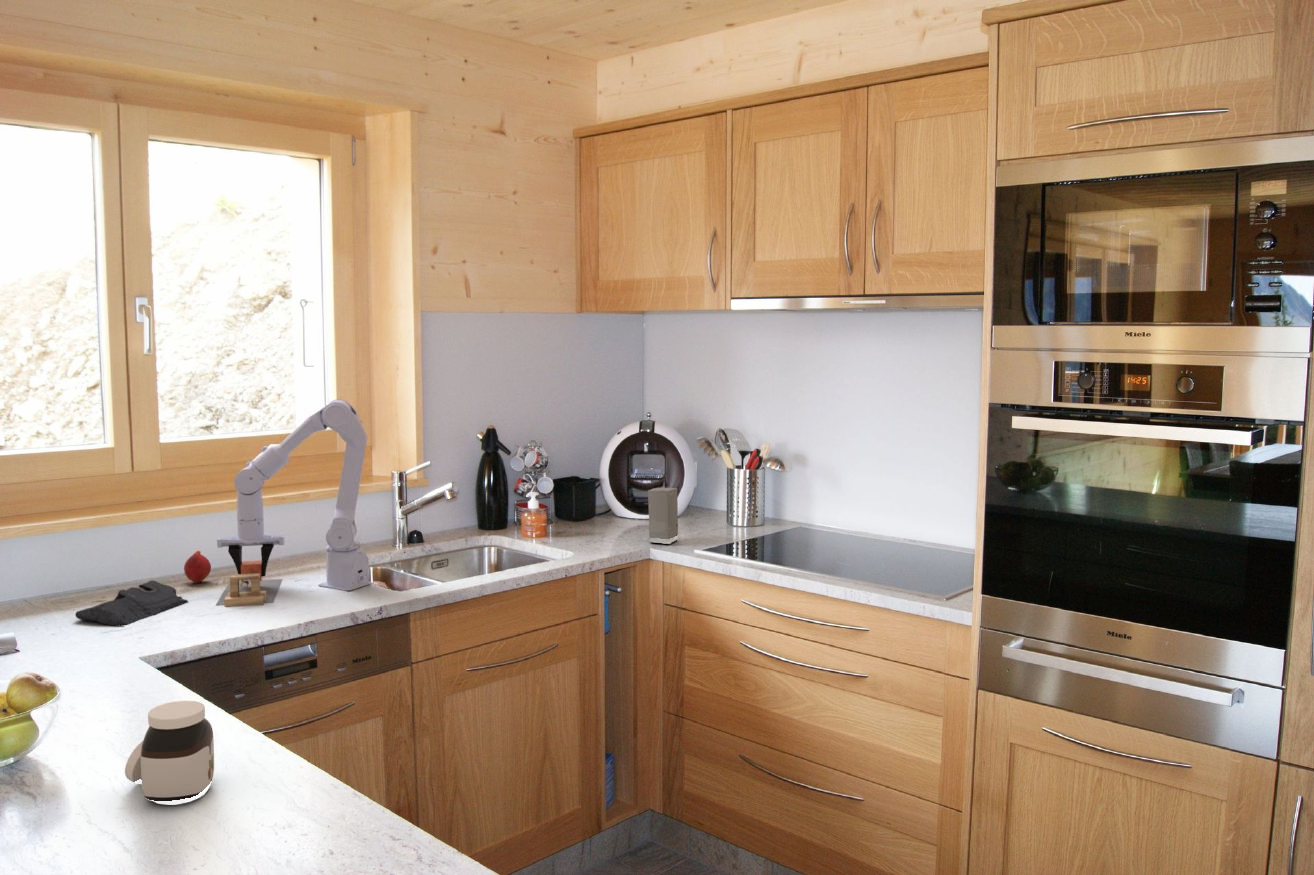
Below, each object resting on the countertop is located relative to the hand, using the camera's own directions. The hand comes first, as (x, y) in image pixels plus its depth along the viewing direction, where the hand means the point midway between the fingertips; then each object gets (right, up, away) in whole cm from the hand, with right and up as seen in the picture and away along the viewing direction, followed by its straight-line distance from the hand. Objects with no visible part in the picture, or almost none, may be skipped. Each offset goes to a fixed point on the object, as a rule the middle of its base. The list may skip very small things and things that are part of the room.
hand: (252, 576), depth 244 cm
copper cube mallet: (+2, -2, -6) cm, 6 cm away
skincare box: (+97, +2, +59) cm, 113 cm away
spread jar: (+30, -15, -105) cm, 110 cm away
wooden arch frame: (+3, -4, -12) cm, 13 cm away
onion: (-15, -3, +4) cm, 15 cm away
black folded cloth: (-18, -6, -19) cm, 27 cm away
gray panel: (+1, -3, -3) cm, 5 cm away
